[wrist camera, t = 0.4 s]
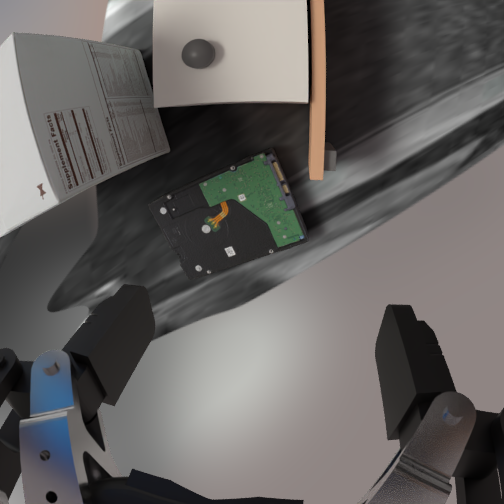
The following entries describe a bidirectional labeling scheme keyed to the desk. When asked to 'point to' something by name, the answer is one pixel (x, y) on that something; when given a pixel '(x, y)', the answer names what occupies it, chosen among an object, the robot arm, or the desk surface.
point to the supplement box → (69, 120)
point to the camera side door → (318, 95)
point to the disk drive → (231, 216)
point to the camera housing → (229, 52)
